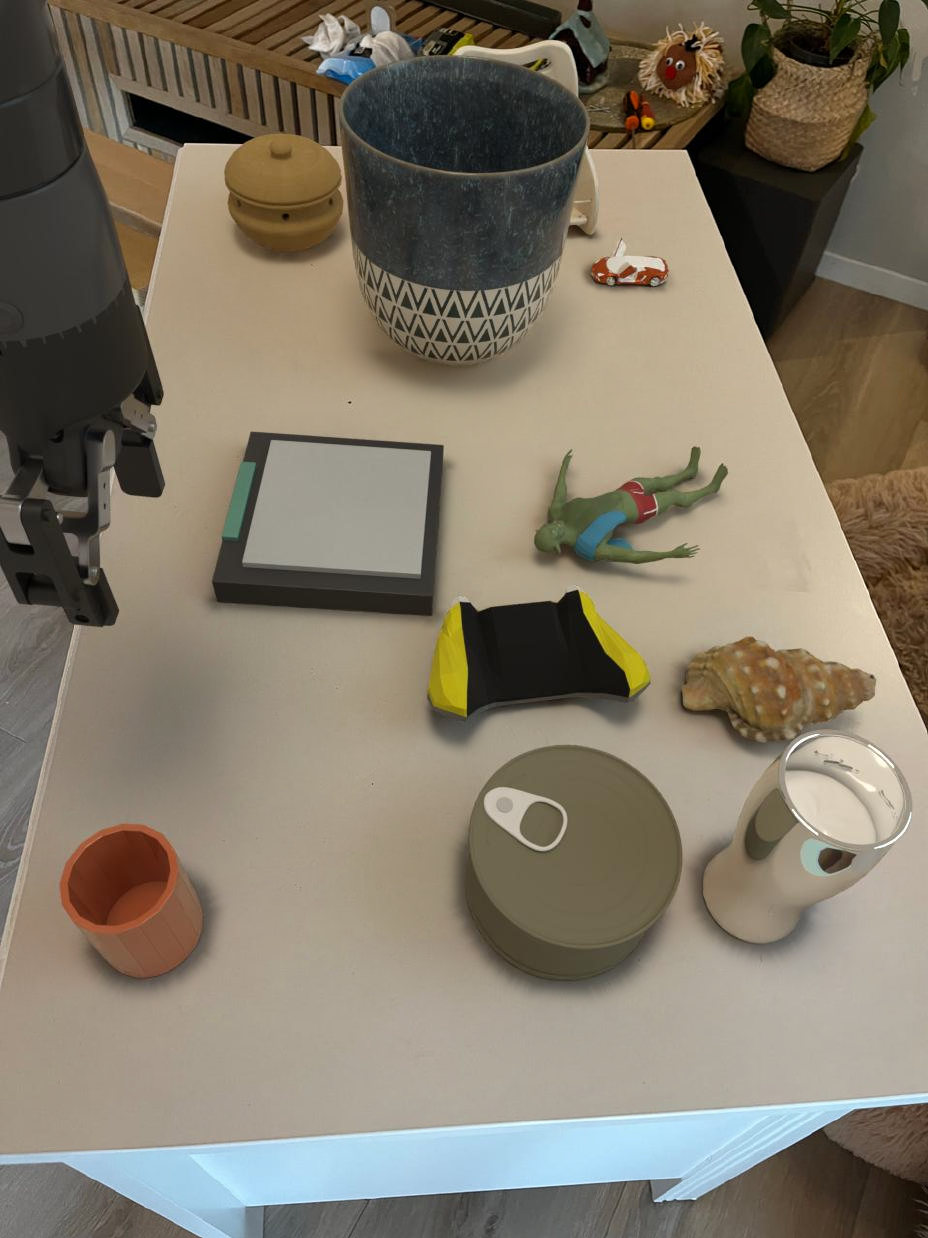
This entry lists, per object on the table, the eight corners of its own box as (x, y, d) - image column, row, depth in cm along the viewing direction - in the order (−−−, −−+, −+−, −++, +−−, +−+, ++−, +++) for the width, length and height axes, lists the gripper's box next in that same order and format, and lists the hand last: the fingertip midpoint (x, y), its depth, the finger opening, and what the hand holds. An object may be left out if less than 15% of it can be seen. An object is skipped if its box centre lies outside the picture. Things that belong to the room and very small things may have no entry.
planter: (578, 396, 84) (625, 165, 67) (369, 420, 81) (362, 183, 63) (521, 274, 95) (548, 49, 78) (335, 291, 92) (321, 59, 74)
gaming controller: (645, 726, 64) (607, 612, 69) (663, 683, 59) (622, 565, 65) (432, 752, 61) (411, 632, 67) (435, 710, 57) (412, 586, 63)
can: (613, 1023, 52) (639, 991, 46) (426, 924, 55) (430, 882, 49) (680, 846, 58) (710, 799, 53) (511, 765, 61) (523, 712, 56)
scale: (216, 601, 68) (210, 576, 65) (254, 452, 77) (249, 425, 75) (431, 615, 68) (433, 591, 66) (442, 465, 78) (444, 439, 75)
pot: (341, 205, 101) (337, 111, 93) (348, 266, 94) (344, 170, 86) (233, 206, 100) (219, 111, 92) (232, 268, 93) (216, 171, 85)
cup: (88, 975, 52) (44, 929, 45) (115, 876, 55) (78, 820, 49) (191, 980, 52) (162, 936, 45) (212, 881, 55) (187, 827, 49)
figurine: (784, 500, 71) (604, 584, 64) (772, 539, 74) (598, 625, 67) (650, 410, 81) (480, 476, 74) (643, 448, 83) (479, 515, 76)
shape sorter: (566, 189, 106) (593, 18, 92) (595, 240, 100) (629, 64, 86) (399, 201, 102) (400, 24, 88) (419, 254, 96) (423, 74, 82)
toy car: (587, 261, 97) (592, 234, 95) (661, 264, 98) (668, 236, 95) (593, 290, 94) (598, 262, 92) (669, 293, 95) (676, 265, 92)
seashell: (754, 670, 71) (865, 618, 63) (775, 771, 67) (895, 729, 60) (666, 647, 66) (774, 588, 59) (683, 755, 63) (800, 706, 55)
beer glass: (691, 835, 59) (767, 717, 47) (799, 848, 59) (903, 733, 47) (697, 944, 55) (782, 845, 43) (813, 958, 55) (930, 863, 43)
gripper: (-11, 162, 38) (91, 449, 51) (-176, 386, 30) (-3, 661, 43) (170, 180, 38) (225, 462, 51) (56, 409, 30) (158, 676, 43)
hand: (122, 552), depth 47 cm, fingers open, 8 cm apart
